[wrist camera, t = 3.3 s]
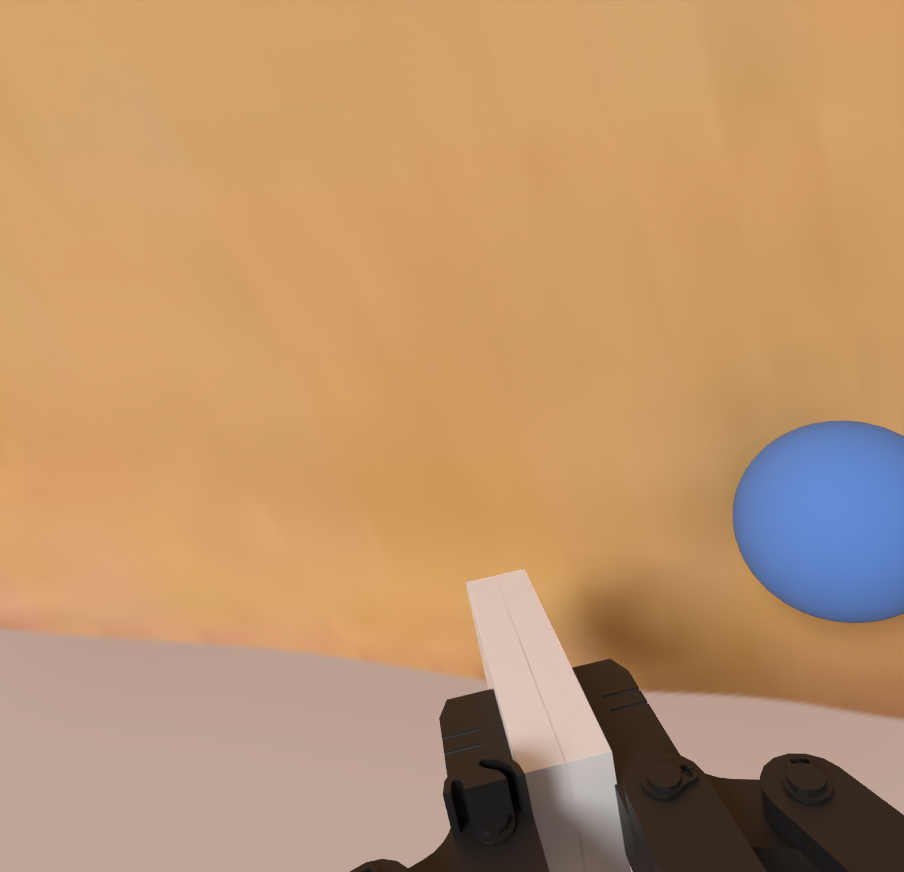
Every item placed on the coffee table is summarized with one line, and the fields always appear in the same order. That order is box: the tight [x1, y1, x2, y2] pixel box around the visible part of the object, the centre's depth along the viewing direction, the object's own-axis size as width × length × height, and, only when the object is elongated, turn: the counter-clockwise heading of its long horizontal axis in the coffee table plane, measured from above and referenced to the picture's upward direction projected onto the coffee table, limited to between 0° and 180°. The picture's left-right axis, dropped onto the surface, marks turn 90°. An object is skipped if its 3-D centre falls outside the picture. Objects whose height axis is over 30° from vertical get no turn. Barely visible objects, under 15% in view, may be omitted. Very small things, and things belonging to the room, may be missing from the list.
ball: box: [733, 421, 904, 623], centre depth 19 cm, size 6×6×6 cm
